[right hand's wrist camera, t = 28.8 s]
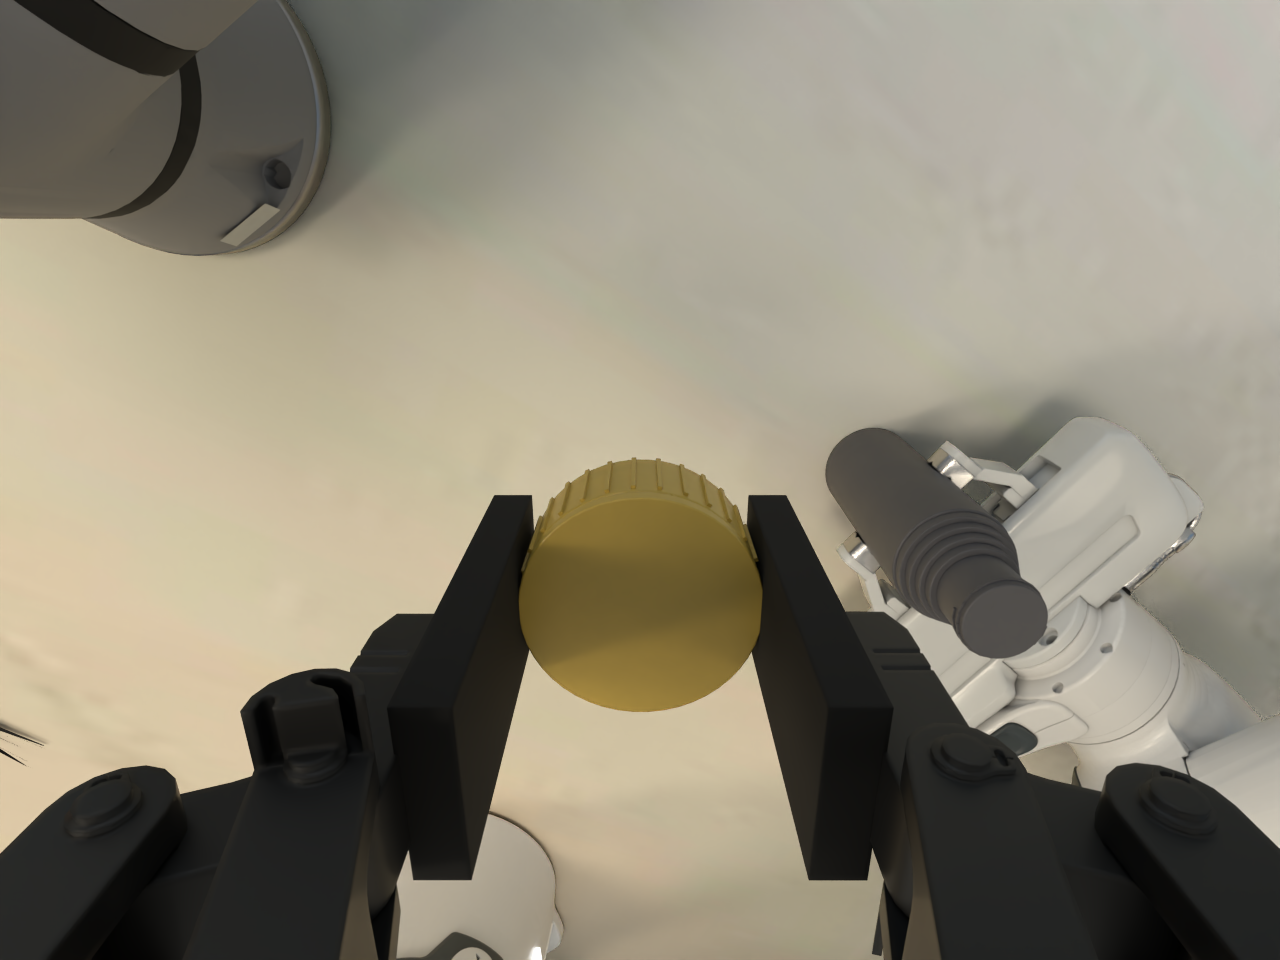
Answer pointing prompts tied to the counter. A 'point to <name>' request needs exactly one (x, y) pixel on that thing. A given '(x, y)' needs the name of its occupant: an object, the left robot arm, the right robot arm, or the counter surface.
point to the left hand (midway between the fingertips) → (892, 500)
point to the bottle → (936, 544)
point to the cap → (640, 587)
